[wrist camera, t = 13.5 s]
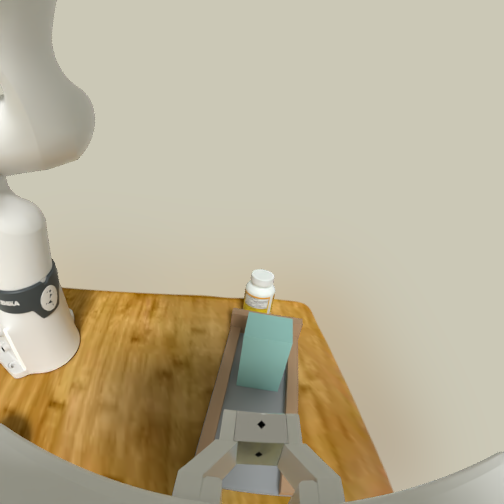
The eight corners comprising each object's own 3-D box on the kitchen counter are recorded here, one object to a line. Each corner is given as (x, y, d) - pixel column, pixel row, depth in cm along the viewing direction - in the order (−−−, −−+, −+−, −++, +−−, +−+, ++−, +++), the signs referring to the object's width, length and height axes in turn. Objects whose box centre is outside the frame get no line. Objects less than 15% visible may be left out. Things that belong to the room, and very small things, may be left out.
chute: (187, 481, 23) (185, 469, 22) (231, 326, 51) (233, 307, 49) (293, 496, 23) (303, 486, 21) (296, 337, 50) (302, 318, 48)
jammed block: (236, 385, 38) (243, 335, 34) (241, 361, 42) (248, 311, 38) (277, 391, 38) (292, 343, 33) (279, 367, 42) (292, 318, 38)
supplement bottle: (256, 330, 51) (264, 286, 47) (235, 316, 54) (241, 272, 50) (275, 319, 54) (284, 276, 50) (254, 306, 57) (261, 264, 53)
